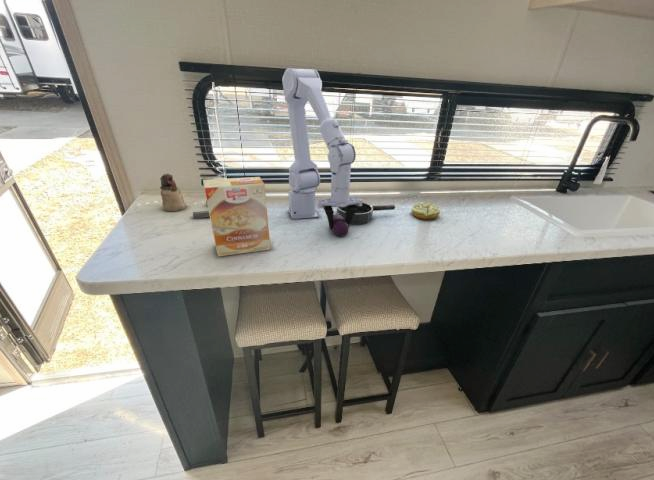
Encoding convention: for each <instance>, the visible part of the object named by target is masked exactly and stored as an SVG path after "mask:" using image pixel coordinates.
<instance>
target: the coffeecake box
mask: <svg viewBox="0 0 654 480" xmlns="http://www.w3.org/2000/svg"><path fill="white" fill-rule="evenodd" d="M202 181H203V182H202V183H203V189H204V194H205V199H206V200H207V203H206V205H207V204H208V205H207V209H208V211H209V215H210V217H209V220H210V224H211V229H212V230H211V231H212V235H213V240H214V244H215V250H216V254H217V257H219V258H220V257H226V256H233V255H239V254H240V255H241V254H247V253H255V252H261V251H270V250H271V240H270V238H271V237H270V230H269V229H270V228H269V218H268V217H269V216H268V206H267V194H266V185H265V183H264V181H263V180H262V178H261V176H251V177H249V176H248V177H232V178H231V177H230V178H211V179H203V180H202Z"/></svg>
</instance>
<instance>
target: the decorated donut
mask: <svg viewBox="0 0 654 480" xmlns="http://www.w3.org/2000/svg"><path fill="white" fill-rule="evenodd" d="M410 212H411V213H412V214H413V216H415V217H416V218H417V219H420V220H434V219H436V218H437V217H438V216H439V215H440V214H441V209H440V207H439V206H438V205H436V204H434V203H430V202H427V201H425V202H424V201H422V202H417V203H414V204H413V205H412V207H411V209H410Z"/></svg>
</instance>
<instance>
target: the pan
mask: <svg viewBox="0 0 654 480" xmlns="http://www.w3.org/2000/svg"><path fill="white" fill-rule="evenodd" d="M372 206H373V205H371V204H369V203H367V202H364V201H362V206H356V208H357V211H356V213H355V214H354V216H353V218H352V220H351V222H350V225H365V224H369V223H370V222H371V221H372V219H373V214H374V211H373V207H372ZM336 214H338V215H341V216H342V217H343V218H344V220H345V219H346V208H345V207H336Z"/></svg>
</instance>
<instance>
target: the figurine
mask: <svg viewBox="0 0 654 480" xmlns="http://www.w3.org/2000/svg"><path fill="white" fill-rule="evenodd" d="M173 178H174V176H173V175H172V174H170V173H168V172H167V173H163V174H162V175H161V177H160V178H159V179H160V187H159V189H160V196H161V201H162V207H163V209H164V211H166V212H179V211H183V210H184V209H186V202H185V200H184V197H183V194H182V192H181V190H180V188H179V187H178V186H177V184H176V182H175V181H176V180H174V179H173Z"/></svg>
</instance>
